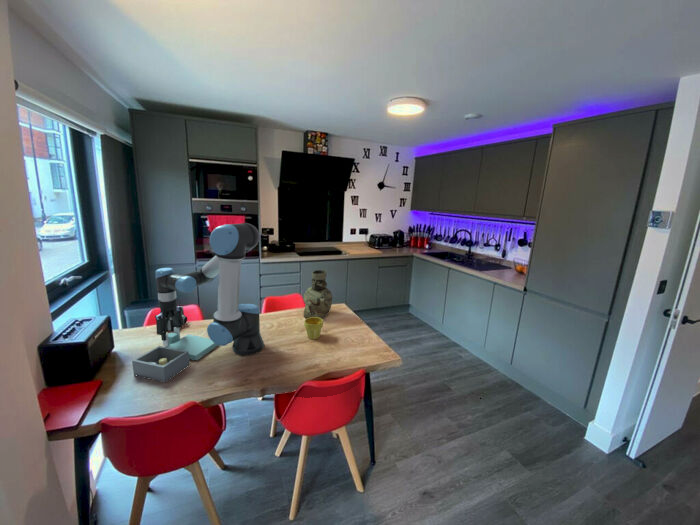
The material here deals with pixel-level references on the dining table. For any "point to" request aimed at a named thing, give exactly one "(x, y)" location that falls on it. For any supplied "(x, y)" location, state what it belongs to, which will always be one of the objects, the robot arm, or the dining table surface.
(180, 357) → the tub
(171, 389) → the dining table surface
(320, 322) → the plant pot
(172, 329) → the camera
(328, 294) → the ceramic vessel
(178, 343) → the lid
